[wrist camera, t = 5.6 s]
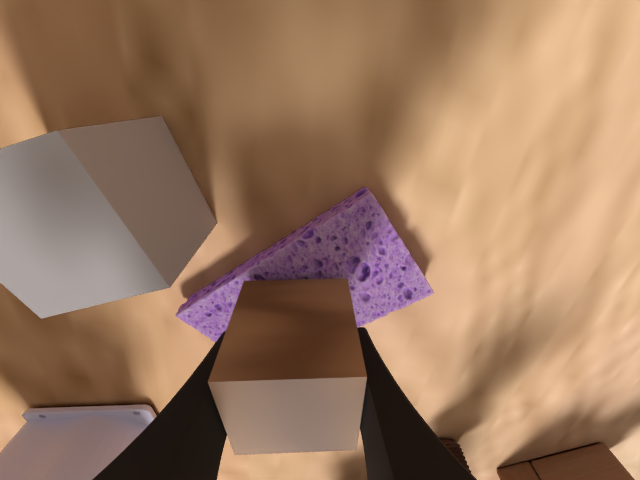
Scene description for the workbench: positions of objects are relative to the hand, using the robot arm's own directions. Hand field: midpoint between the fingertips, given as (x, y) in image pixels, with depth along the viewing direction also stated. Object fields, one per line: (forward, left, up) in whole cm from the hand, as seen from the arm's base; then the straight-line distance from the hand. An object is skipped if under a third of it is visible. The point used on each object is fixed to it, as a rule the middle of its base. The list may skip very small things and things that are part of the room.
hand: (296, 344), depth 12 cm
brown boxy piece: (0, 0, -2) cm, 2 cm away
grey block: (-7, +6, -4) cm, 10 cm away
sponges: (0, 0, -5) cm, 5 cm away
